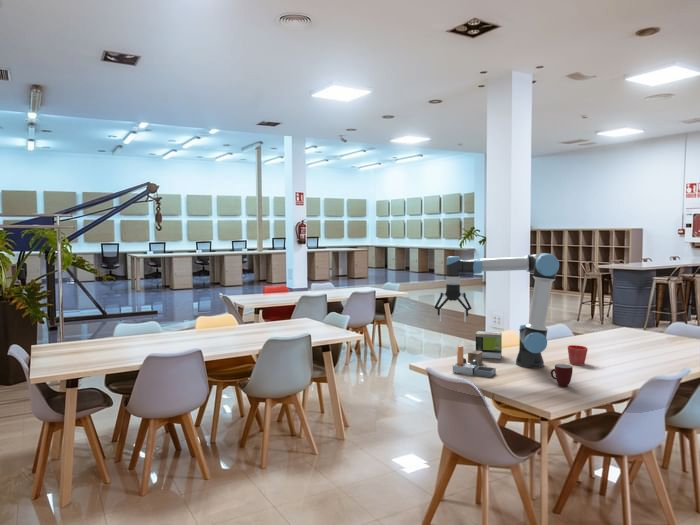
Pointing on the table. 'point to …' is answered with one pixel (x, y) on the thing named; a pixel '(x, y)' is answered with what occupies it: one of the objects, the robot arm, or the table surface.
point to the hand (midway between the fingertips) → (452, 321)
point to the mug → (562, 374)
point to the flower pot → (577, 354)
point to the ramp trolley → (466, 367)
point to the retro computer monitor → (489, 344)
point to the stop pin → (460, 355)
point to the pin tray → (485, 371)
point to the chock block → (475, 356)
